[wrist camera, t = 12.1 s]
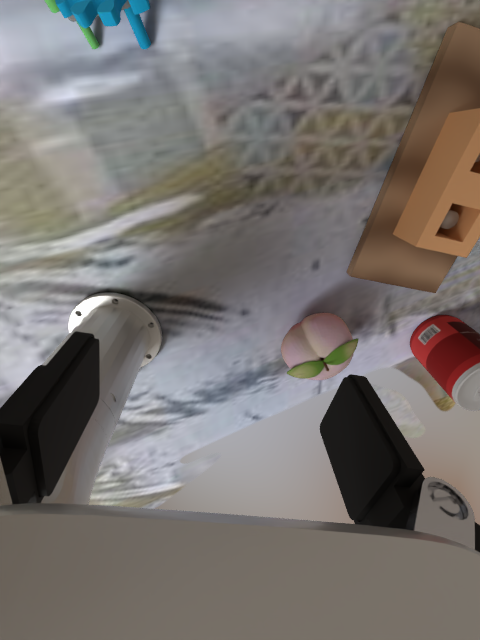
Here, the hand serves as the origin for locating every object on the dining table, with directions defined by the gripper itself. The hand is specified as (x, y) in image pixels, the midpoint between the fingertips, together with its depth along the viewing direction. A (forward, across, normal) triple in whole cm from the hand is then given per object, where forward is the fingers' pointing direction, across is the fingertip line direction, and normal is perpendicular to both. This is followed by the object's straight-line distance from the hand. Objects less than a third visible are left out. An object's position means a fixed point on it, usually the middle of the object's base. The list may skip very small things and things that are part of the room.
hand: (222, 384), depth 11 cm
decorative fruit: (+28, -15, +11) cm, 34 cm away
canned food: (+28, -34, +9) cm, 45 cm away
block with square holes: (+26, -22, -10) cm, 35 cm away
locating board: (+27, -23, -10) cm, 37 cm away
